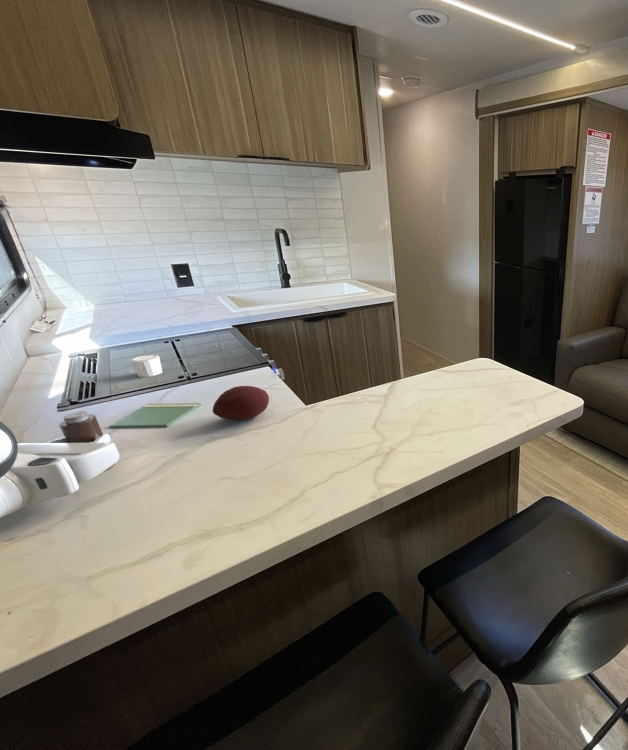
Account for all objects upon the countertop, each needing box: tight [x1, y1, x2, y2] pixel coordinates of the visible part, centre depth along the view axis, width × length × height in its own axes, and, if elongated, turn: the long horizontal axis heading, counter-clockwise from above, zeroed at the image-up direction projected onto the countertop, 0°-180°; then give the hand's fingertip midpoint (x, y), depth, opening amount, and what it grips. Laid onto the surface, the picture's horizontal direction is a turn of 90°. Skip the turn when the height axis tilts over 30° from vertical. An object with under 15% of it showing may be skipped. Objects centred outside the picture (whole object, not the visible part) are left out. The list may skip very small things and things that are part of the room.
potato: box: [212, 385, 270, 421], centre depth 100 cm, size 12×11×8 cm
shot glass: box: [130, 354, 163, 378], centre depth 126 cm, size 7×7×7 cm
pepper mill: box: [58, 410, 104, 443], centre depth 79 cm, size 5×5×12 cm
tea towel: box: [108, 402, 202, 429], centre depth 103 cm, size 14×12×1 cm
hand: (90, 437), depth 80 cm, fingers closed on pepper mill, 5 cm apart
